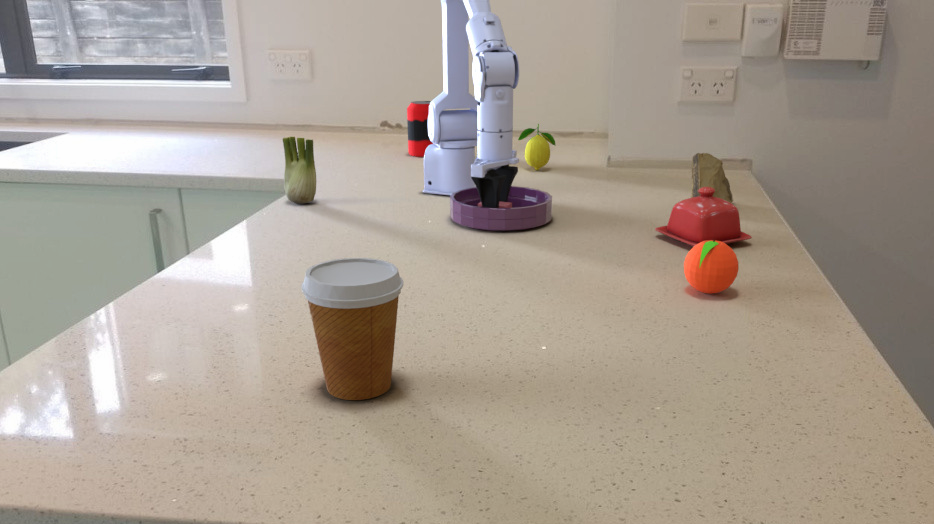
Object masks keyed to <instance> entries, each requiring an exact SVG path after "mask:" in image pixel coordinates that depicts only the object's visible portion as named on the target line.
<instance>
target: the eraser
mask: <svg viewBox="0 0 934 524" xmlns="http://www.w3.org/2000/svg"><path fill="white" fill-rule="evenodd" d="M478 207H482V204H481V202H480V203H478ZM499 208H512V203H510V202H501V201H499Z"/></svg>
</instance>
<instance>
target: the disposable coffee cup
mask: <svg viewBox="0 0 934 524" xmlns="http://www.w3.org/2000/svg"><path fill="white" fill-rule="evenodd" d="M403 287H404V279H403V277H401V276H400V272H399V268H398V267H397V266H396V265H395V264H394V263H393V262H390V261H387V260H383V259H379V258H373V257H344V258H336V259H330V260H325V261H321V262H319V263H316V264H314V265H312V266H310V267H308V268H307V269H306V271H305V273H304V280H303V282H302V283H301V285H300V290H301V292H302V294H303V295H304V297H305V300H307V303H308V308H309V314H310V317H311V318H310V319H311V322H312V328H313V332H314V335H315V340H316V345H317V350H318V355H319V358H320V363H321V368H322V373H323V377H324V381H325V386H326V390H327V392H328V394H329V395H331V396H332V397H334V398H337V399H341V400H347V401H361V400H362V401H364V400H369V399H373V398H377V397H379V396H381V395H383V394H385V393H386V392H388V391H389V390H390V388H391V386H392V376H393V375H392V374H393V366H394V364H393V363H394V356H395V355H394V354H395V353H394V352H395V342H396V333H397V332H396V331H397V320H398V317H397V316H398V308H399V296H400V294H401V293H402V289H403Z"/></svg>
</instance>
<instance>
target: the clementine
mask: <svg viewBox="0 0 934 524" xmlns="http://www.w3.org/2000/svg"><path fill="white" fill-rule="evenodd" d="M739 271H740V270H739V261H738V257H737V254H736V252H735V251H734V249H733V248H732V247H731V246H729V244H725V243H724V242H721V241H716V240H715V239H714V240H706V241H703V242H700V243H699V244H697V245H695V246H694V247H693V246H692V248H691V249H690V250H689V251H688V252H687V254H686V256H685V257H684V261H683V274H684V277H685V279H686V281H687V282H688V284H689V285H690V286H691V287H692V288H693V289H694V290H696V291H698V292H699V293H700V292H701V293H704V294H709V295H710V294H711V295H712V294H719V293H721V292H723V291H725V290H727V289H728V288H729V287H730V286H732V285H733V283H734V281H735V280H736V279H737V276H738V274H739Z"/></svg>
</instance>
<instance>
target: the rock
mask: <svg viewBox="0 0 934 524" xmlns="http://www.w3.org/2000/svg"><path fill="white" fill-rule="evenodd" d="M690 172H691V191H690V198H692V197H698V196H700V193H699V192H698V190H699V189H700V188H702V187H711V188H713V189H715V192H714V194H713V197H717V198H720V199H723V200H725V201H728V202H729V203H731V204H733V202H734V198H733V194H732V191H731V185H730V182H729V179H728V178H727V176H726V174H725V169H724V168H723V160H721V159H719V158H717V157H716V156H714V155H712V154H711V153H709V152H702V153H700V152H697V153H695V154H694V155H692V159H691V169H690Z"/></svg>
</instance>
